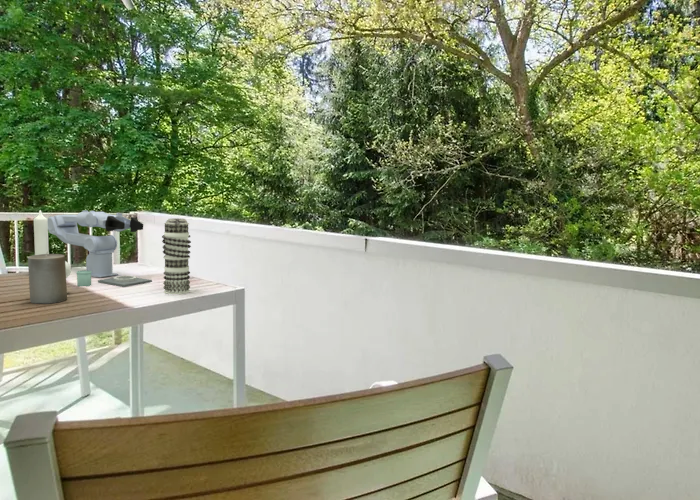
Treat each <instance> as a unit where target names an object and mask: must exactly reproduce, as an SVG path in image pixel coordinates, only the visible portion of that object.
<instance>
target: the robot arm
mask: <svg viewBox="0 0 700 500" xmlns="http://www.w3.org/2000/svg"><path fill="white" fill-rule="evenodd" d="M47 219H48V234H52V235H54V236H56V237H57V238H58V240H60V241H61V242H63V243H64V244H68V245H73V246H79V247H83V248H84V249H85V250H87V251H88V252H89V253H88V254H87V256H86V259H85V262H86V263H85V264H86V265H85V266H86V267H85V270H89V271H92V274H91V277H93V278H94V277H95V278H106V277H111V276H119V275H118V273H115V272H114V271H113V268H114V267H113V253H115V251H116V249H117V248H118V240H117V238H116V236H115V235H113V234H110V235H98V236H97V235H92V234H91V235H90V234H86V233H80V232H79V228H78V225H79V226H81V227H89V228H95V227H96V228H97V227H98V228H102V229H105V231H106V232H119V233H120V232H123V231H125V230H129V229H130V230H129V231H130V232H129V233H136V232H137V231H142V230H144V223H143V222H140V220H139V219H138V218H137V217H135V216H133V217H132V216H131V217H130V219H129V218H127V217H125V216H123V213H122V212H116V214H110V213H107V212H104V211H103V210H102V211H95V210H90V211H88V210H82V211H81V212H79V213H77V214H57V215H53V216H49V217H47Z"/></svg>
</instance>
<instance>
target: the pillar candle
mask: <svg viewBox="0 0 700 500" xmlns="http://www.w3.org/2000/svg"><path fill="white" fill-rule="evenodd" d="M47 253H48V252H47ZM47 253H46V254H40V255H35V254H33V255H29V256H27V264H28V268H27V269H28V284H29V285H28V287H29V301H30V303H31V304H48V305H49V304H55V303H61V302H63V301H64V302H65V301H66V300H67V299H68V288H67V278H66V267H65V261H66V257H65V254H63V253H62V254H61V253H49V254H47Z"/></svg>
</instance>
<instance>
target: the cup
mask: <svg viewBox="0 0 700 500" xmlns="http://www.w3.org/2000/svg"><path fill="white" fill-rule="evenodd" d="M75 273H76V280H77V281H76V285H77V287H80V286H86V287H91V286H92V276H91V274H92V271H89V270H86V269H85V270H83V269H82V270H77V271H76V272H75ZM90 285H91V286H90Z"/></svg>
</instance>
